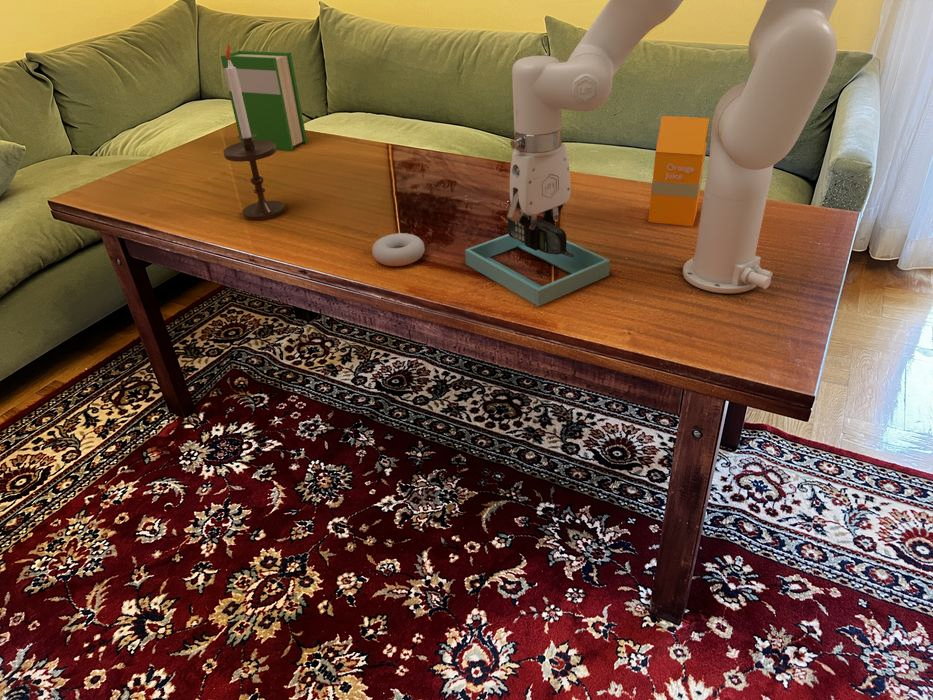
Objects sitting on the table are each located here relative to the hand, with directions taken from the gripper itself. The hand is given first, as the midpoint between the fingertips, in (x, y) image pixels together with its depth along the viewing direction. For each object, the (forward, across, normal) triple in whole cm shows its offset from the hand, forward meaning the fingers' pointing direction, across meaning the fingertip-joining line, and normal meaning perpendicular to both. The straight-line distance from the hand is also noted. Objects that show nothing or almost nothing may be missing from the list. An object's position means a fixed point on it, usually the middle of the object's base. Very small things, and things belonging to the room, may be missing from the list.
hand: (540, 243), depth 119 cm
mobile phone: (+1, 0, 0) cm, 1 cm away
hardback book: (+3, -6, +109) cm, 109 cm away
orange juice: (+6, +35, 0) cm, 36 cm away
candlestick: (+4, -28, +62) cm, 68 cm away
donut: (+5, -17, +22) cm, 28 cm away
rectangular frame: (+5, -1, +1) cm, 5 cm away
